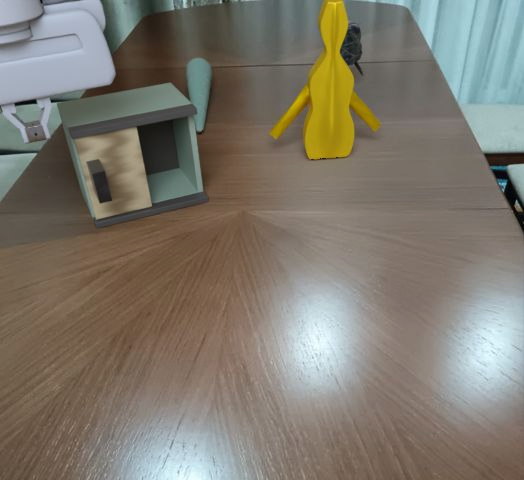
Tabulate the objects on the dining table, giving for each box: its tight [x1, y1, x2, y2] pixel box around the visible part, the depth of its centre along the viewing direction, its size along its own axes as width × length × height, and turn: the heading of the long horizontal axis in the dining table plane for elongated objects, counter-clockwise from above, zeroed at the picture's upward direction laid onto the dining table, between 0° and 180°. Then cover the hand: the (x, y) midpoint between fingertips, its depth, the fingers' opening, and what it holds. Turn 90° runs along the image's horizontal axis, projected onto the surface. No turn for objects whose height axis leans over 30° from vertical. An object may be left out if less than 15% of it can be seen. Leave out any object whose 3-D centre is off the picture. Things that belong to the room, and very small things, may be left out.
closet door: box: [74, 127, 152, 220], centre depth 73 cm, size 8×5×11 cm, turn 113°
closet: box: [56, 82, 209, 229], centre depth 79 cm, size 16×12×13 cm
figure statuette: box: [268, 0, 382, 160], centre depth 84 cm, size 18×8×22 cm, turn 95°
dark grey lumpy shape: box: [340, 20, 365, 77], centre depth 108 cm, size 8×11×20 cm
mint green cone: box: [185, 57, 213, 132], centre depth 108 cm, size 5×6×27 cm
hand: (37, 139), depth 65 cm, fingers closed
